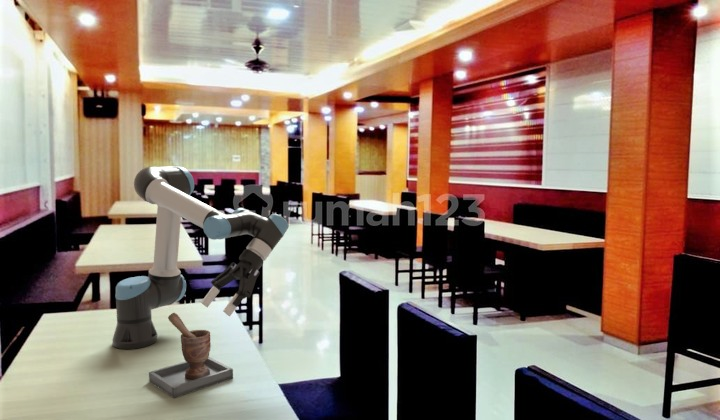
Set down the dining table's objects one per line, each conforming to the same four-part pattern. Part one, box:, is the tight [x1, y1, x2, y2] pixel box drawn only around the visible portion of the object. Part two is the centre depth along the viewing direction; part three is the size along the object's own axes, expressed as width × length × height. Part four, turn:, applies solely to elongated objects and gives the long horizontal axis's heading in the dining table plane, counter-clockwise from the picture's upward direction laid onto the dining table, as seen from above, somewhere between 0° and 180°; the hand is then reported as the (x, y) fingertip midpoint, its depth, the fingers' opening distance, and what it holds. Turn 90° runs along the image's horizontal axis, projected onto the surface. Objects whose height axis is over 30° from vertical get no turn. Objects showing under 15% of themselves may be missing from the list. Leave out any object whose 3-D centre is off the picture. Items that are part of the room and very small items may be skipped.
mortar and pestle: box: [167, 312, 212, 380], centre depth 160 cm, size 12×9×20 cm
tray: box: [148, 356, 234, 399], centre depth 161 cm, size 16×19×3 cm
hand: (214, 309), depth 165 cm, fingers open, 13 cm apart
